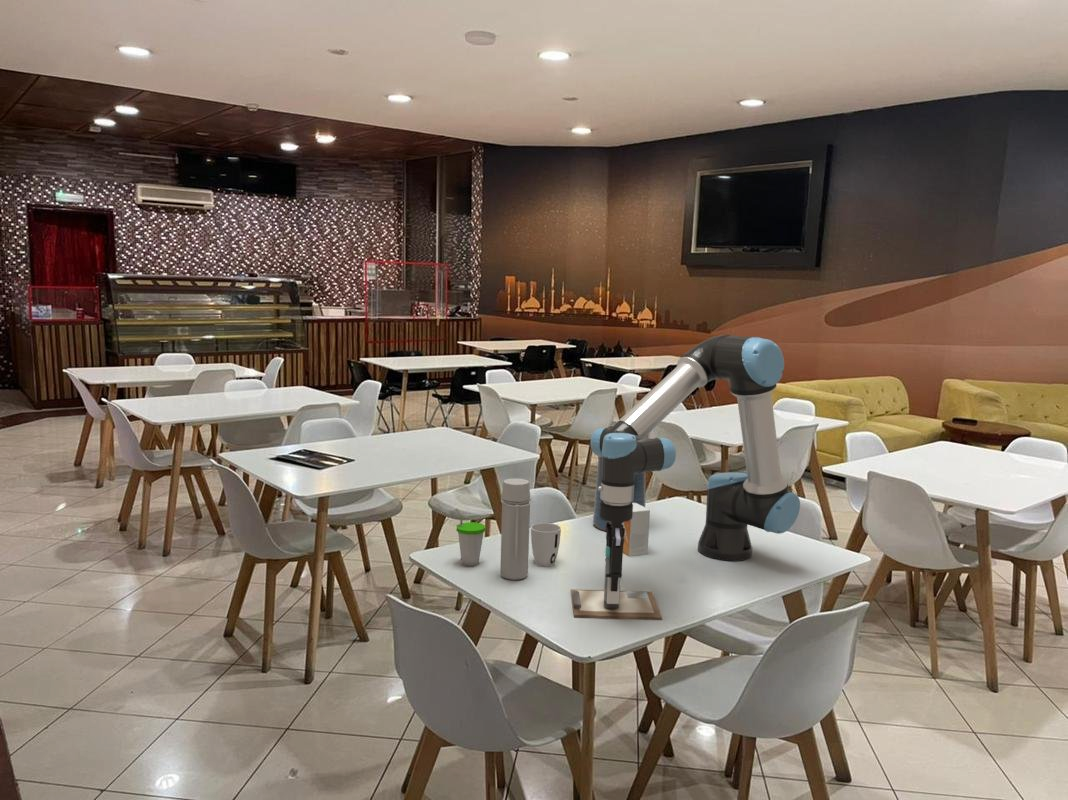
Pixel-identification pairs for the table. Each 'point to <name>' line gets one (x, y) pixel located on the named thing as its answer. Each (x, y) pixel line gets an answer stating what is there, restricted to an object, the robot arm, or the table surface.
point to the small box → (637, 531)
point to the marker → (609, 606)
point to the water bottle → (515, 528)
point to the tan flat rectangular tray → (629, 608)
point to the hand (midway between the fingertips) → (611, 599)
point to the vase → (638, 498)
